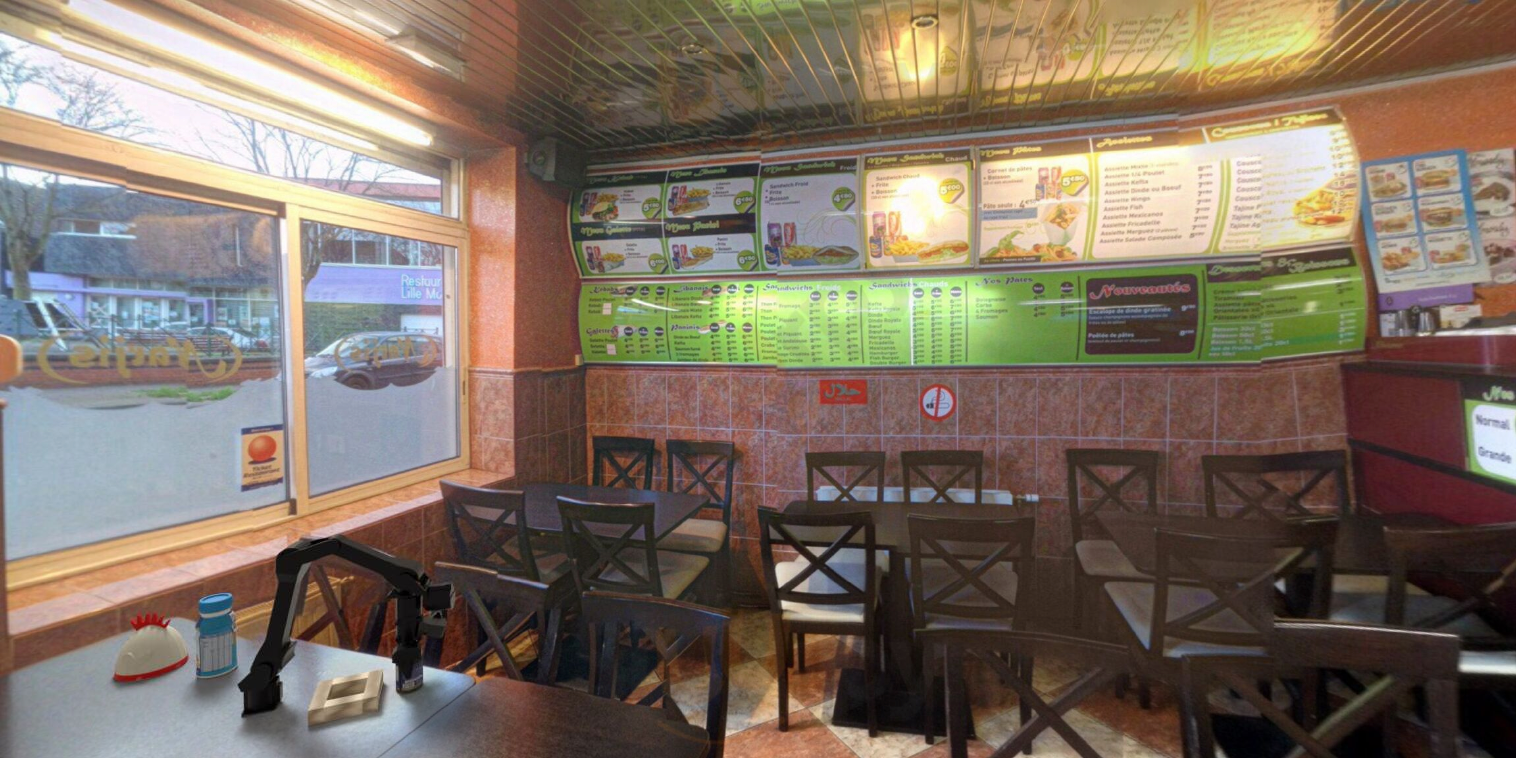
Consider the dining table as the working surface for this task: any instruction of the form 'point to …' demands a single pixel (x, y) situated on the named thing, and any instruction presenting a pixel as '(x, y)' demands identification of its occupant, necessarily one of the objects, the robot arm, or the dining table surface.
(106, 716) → the dining table surface
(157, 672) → the cream hat
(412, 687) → the pill bottle
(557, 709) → the dining table surface
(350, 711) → the holder block
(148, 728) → the dining table surface
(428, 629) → the robot arm
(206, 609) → the blue vitamin bottle
